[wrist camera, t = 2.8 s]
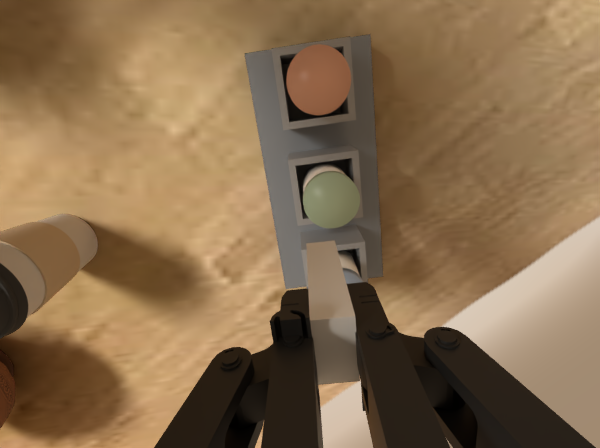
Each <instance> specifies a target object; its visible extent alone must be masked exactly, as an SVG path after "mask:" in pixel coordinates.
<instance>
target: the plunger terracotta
mask: <svg viewBox="0 0 600 448" xmlns="http://www.w3.org/2000/svg"><path fill="white" fill-rule="evenodd" d="M350 86H351V73H350V68H349V65H348V63H347V61H346V59H345V58H344V57H343V55H342V54H341V53H340V52H339V51H337V50H336V49H334V48H333V47H330V46H328V45H322V44H317V45H311V46H308V47H306V48H304V49H303V50H301V51H300V52H299V53H298V54H297V55H296V56H295V57H294V58H293V60H292V62H291V63H290V66H289V68H288V72H287V89H288V93H289V95H290V98H291V100H292V101H293V103H294V104H295V105H296V106H297V107H298V108H299V109H300V110H302V111H304V112H305V113H308V114H312V115H324V114H328V113H331V112H333V111H334V110H336V109H337V108H338V107H339V106H341V104H342V103H343V102H344V101H345V99H346V97H347V95H348V93H349V90H350Z"/></svg>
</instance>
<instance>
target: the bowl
mask: <svg viewBox="0 0 600 448" xmlns="http://www.w3.org/2000/svg"><path fill="white" fill-rule="evenodd" d="M13 376H14V368H13V364H12V363H11V361H10V359H9V357H8V356H7V355H6V354H4V353H3V352H2V351H1V350H0V428H1V427H2V425H3V424H4V422H5V420H6V419H7V417H8V415H9V414H10V412H11V410H12V408H13V406H14V402H15V381H14V379H13Z"/></svg>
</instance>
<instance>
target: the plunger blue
mask: <svg viewBox="0 0 600 448" xmlns="http://www.w3.org/2000/svg"><path fill="white" fill-rule="evenodd" d="M338 255H339V258H340V262H341V266H342V269H343V273H344V276H345V280H346V284H350V283H360V282H363V280H362V278H361V277H360V275H359V272H358V270H357V267H356V265H355V262H354V260H353V257H352V255H351V254H350V253H349V252H348V251H347V250H340V251H338Z"/></svg>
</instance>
